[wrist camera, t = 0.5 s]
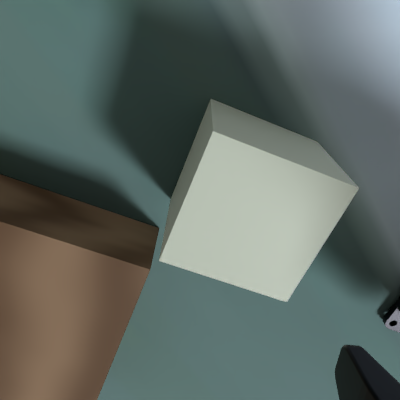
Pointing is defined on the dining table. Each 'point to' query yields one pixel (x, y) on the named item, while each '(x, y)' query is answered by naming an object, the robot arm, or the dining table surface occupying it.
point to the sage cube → (253, 203)
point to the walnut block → (64, 291)
